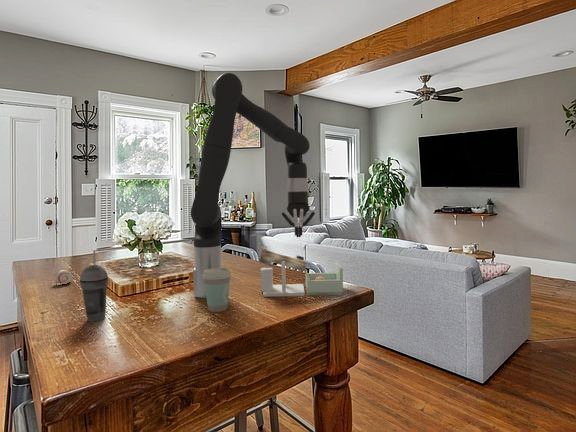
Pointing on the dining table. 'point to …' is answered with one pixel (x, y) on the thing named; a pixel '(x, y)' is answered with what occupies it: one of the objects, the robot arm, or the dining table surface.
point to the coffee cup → (217, 288)
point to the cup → (325, 282)
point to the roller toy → (63, 276)
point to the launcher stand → (278, 290)
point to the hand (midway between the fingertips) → (298, 236)
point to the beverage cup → (94, 291)
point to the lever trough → (277, 258)
